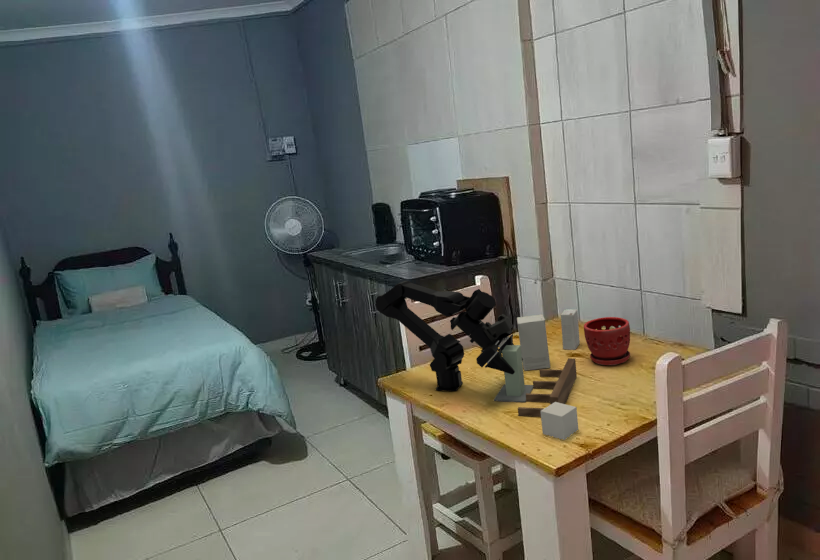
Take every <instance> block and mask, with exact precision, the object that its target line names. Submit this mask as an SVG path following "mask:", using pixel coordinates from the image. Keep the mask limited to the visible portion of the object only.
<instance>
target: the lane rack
mask: <svg viewBox="0 0 820 560" xmlns="http://www.w3.org/2000/svg"><path fill="white" fill-rule="evenodd" d="M538 370H539V376H540V377H541V378H558V379H557V381H553V380H552V381H550V380H533V381H532V385H533V389H537V390H538V389H541V390H552V391H551V393H532V392H531V393H526V402H533V403H534V402H535V403H549V405H551V404H552V403H554V402H558V403H562V404H566V405H567V401H568V399H569V397H570V394H571V391H572V389H573V387H574V385H573V384H575V381H576V380H577V377H578V375H577V374H578V373H577V362H576V358H571V357H570V358H567V359H566V362H565V364H564V366H563V369H551V368H544V369H538ZM543 409H544V407H525V406H524V407H523V406H522V407H521V406H520V407H519V406H518V408H517V414H518V416H521V417H536V418H537V417H540V418H541V412H540V411H541V410H543Z"/></svg>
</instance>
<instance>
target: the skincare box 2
mask: <svg viewBox="0 0 820 560" xmlns="http://www.w3.org/2000/svg"><path fill="white" fill-rule="evenodd" d="M560 322H561V323H560V325H561V338H562V339H561V341H562V349H563V350H568V351H569V350H570V351H571V350H573V351H574V350H577V348H578V347H579V345H580V343H581V341H580V329H579V327H580V326H579V313H578V309H577V308H574V309H570V308H569V309H568V308H567V309H564V310H563V312H562V313H561V314H560Z"/></svg>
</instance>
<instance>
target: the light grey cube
mask: <svg viewBox="0 0 820 560" xmlns="http://www.w3.org/2000/svg"><path fill="white" fill-rule="evenodd" d="M543 408H544V407H543ZM540 412H541V417H540V418H541V419H540V421H541V427H542V429H541V430H542V435H546V436H548V435H549V436H548V437H552V436H553V438H556V439H558V438H559V439H558V440H562V439H563V440H562V441H565V440H566V439H568V438H570V437H571V436H572V435H574V434H575V433H577V432H578V431H579V421H578V420H579V419H578V411H577V406H574V405H570V404H567V403H566V404H562V403H558V402H554V403H552V404H551V405H550V404H549V405H548V406H547V407H545V408H544V409H543V410H541V411H540ZM577 430H578V431H577ZM576 431H577V432H576ZM574 432H575V433H574ZM573 433H574V434H573ZM571 434H572V435H571ZM570 435H571V436H570ZM567 437H568V438H567Z"/></svg>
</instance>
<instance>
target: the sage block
mask: <svg viewBox="0 0 820 560" xmlns="http://www.w3.org/2000/svg"><path fill="white" fill-rule="evenodd" d="M502 357H503V358H504V359H505V360H506V361H507V363H508V364H509V365H510V366H511V367H512V368H513V369H514V371H515V373H514V374H509V373H506V372H503V375H504V384H506V393H507V396H521V395H522V394H523V392H524V390H525V385H526V383H525V375H524V367H523V363H522V355H521V345H520V344H514V345H506V346H505V348H504V349H503V350H502Z"/></svg>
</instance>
